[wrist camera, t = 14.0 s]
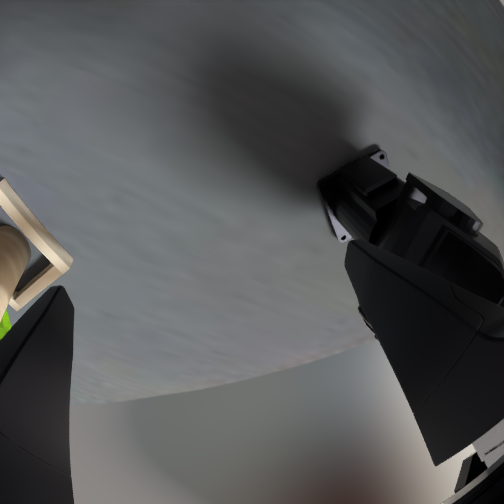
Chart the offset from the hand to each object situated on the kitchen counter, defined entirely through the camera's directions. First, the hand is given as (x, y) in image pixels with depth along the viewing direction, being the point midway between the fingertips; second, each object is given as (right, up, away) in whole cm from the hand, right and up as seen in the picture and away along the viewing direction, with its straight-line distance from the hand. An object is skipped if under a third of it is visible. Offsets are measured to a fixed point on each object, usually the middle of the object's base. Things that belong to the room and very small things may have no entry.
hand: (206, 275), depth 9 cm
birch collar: (-19, +1, +11) cm, 22 cm away
